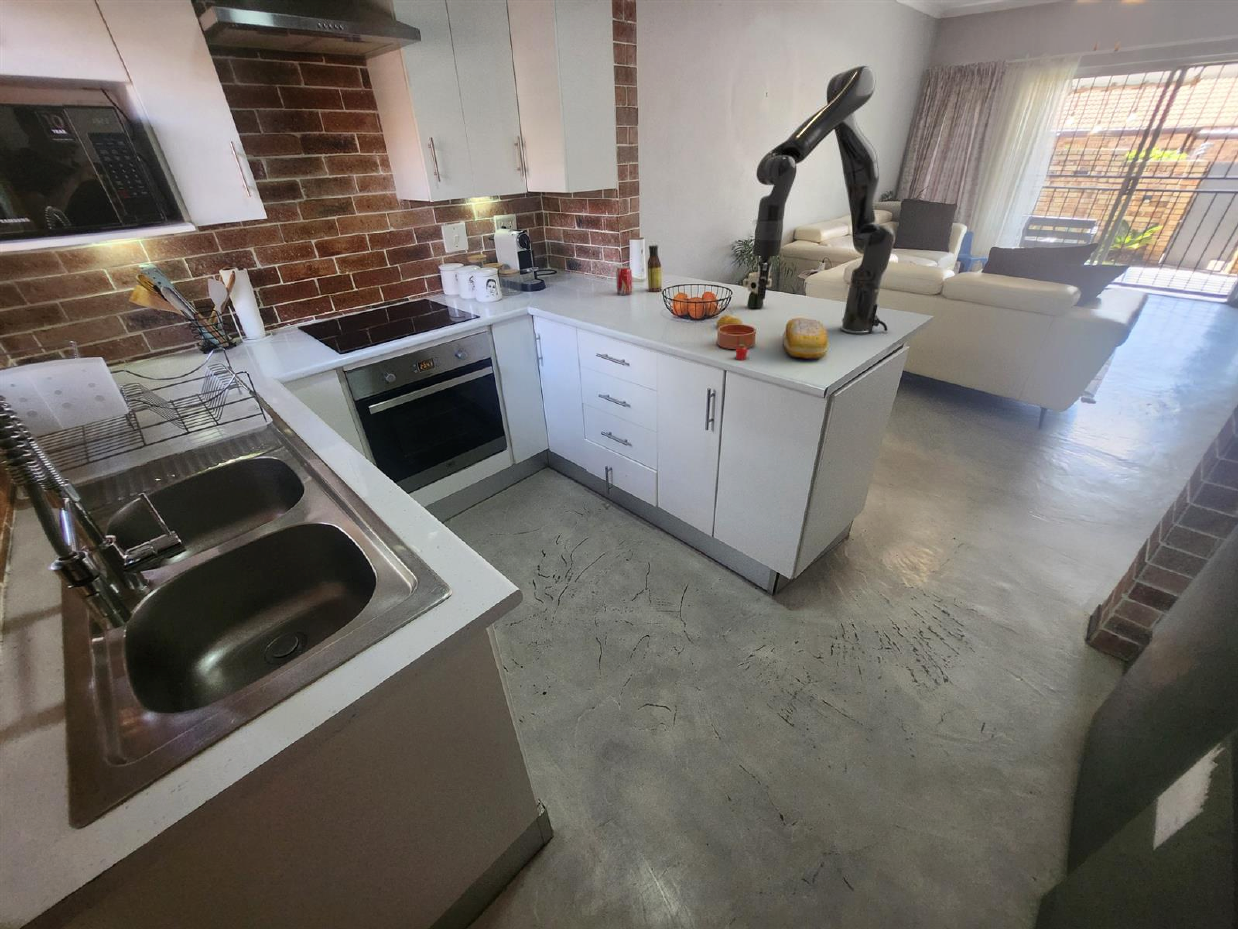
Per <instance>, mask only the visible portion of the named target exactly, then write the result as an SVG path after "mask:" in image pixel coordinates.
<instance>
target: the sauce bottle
mask: <svg viewBox="0 0 1238 929" xmlns="http://www.w3.org/2000/svg"><path fill="white" fill-rule="evenodd" d="M658 249H659V245H658V244H650V245H648V250H649V258H648V259H647V284H648V285H647V286H648V291H649V292H653V293H657V292H660V291H662V286H663V284H662V283H663V282H662V264H661V261H660V258H659V253H658V252H659V251H658Z"/></svg>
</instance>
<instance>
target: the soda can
mask: <svg viewBox="0 0 1238 929" xmlns="http://www.w3.org/2000/svg"><path fill="white" fill-rule="evenodd" d="M615 272H616V273H615V275H616V276H615V278H616V292H617V294H618V295H619V296H628V295H631V294H632V293H633V274H632V269H631V266H630V265H617V269H616V271H615Z"/></svg>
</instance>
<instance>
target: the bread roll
mask: <svg viewBox="0 0 1238 929" xmlns="http://www.w3.org/2000/svg"><path fill="white" fill-rule="evenodd" d="M730 324H743V321H742V319H740V318H737V317H733V316H731V315H723V316H721V317H720V318H719V319H717V321H716V325H717V327H718V328H719V327H721V326H724V325H730Z"/></svg>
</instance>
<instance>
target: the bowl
mask: <svg viewBox="0 0 1238 929" xmlns="http://www.w3.org/2000/svg"><path fill="white" fill-rule="evenodd" d="M716 334H717V335H716V336H717V337H716V344H717V345H718V346H719V347H721V348H723V349H724V348H725V349H727V350H736V348H737V347H738V346H739V344H744V345H745V347H746V348H747V349H749V348H752V347H754V346H755V344H756V335H757V328H756V327H754V326H752V325H748V324H743V323H742V324H730V325H724V326H721V327H718V328H717V333H716Z"/></svg>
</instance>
